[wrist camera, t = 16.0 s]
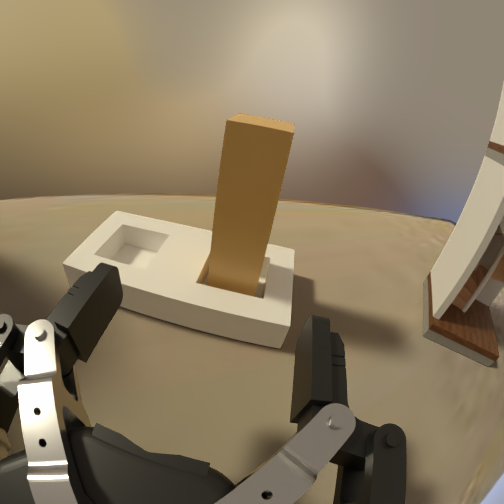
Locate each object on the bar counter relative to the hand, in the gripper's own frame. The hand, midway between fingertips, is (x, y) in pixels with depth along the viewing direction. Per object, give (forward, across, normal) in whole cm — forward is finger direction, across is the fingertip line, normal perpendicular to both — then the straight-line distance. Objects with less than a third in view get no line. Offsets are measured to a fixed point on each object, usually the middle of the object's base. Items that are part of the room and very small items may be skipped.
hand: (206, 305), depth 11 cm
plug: (+11, 0, +10) cm, 15 cm away
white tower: (+13, -28, +10) cm, 33 cm away
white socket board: (+11, +5, +10) cm, 16 cm away
